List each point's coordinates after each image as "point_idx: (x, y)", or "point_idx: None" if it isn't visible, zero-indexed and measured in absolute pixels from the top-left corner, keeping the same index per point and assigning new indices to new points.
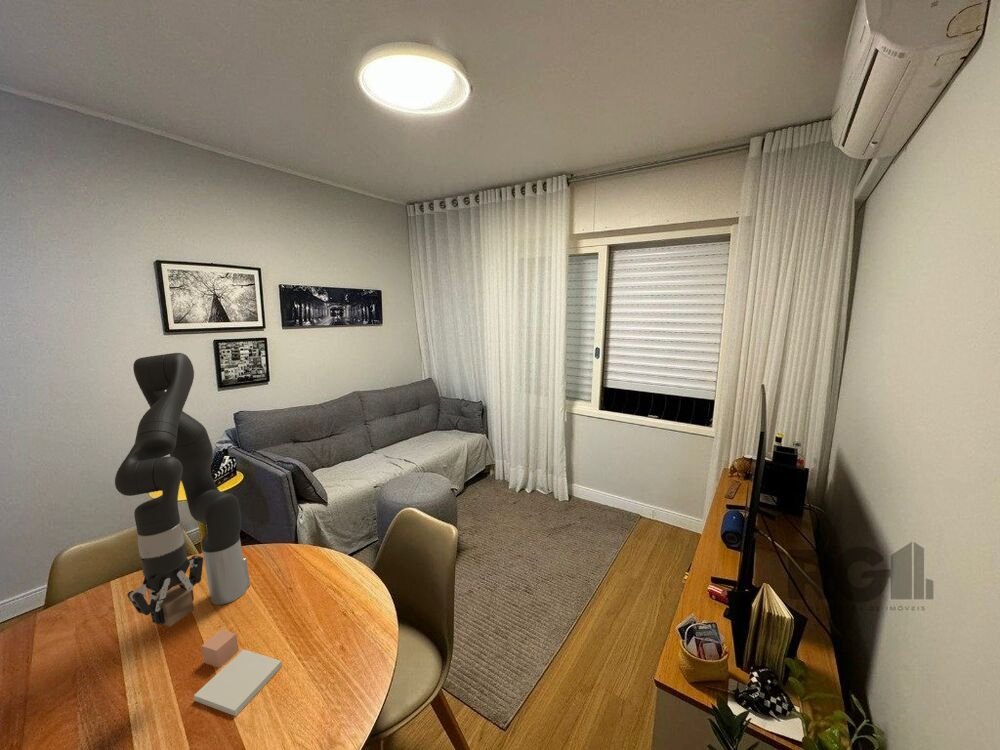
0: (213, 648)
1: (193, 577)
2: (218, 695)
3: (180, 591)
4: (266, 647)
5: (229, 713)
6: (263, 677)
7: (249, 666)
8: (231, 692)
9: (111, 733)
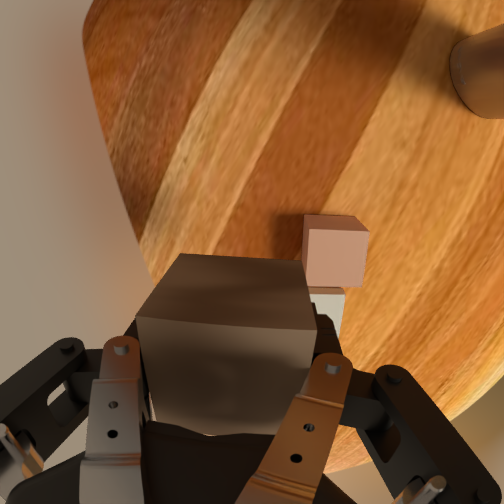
0: (309, 271)
1: (385, 414)
2: None
3: (276, 400)
4: (366, 315)
5: None
6: None
7: None
8: None
9: (131, 186)
